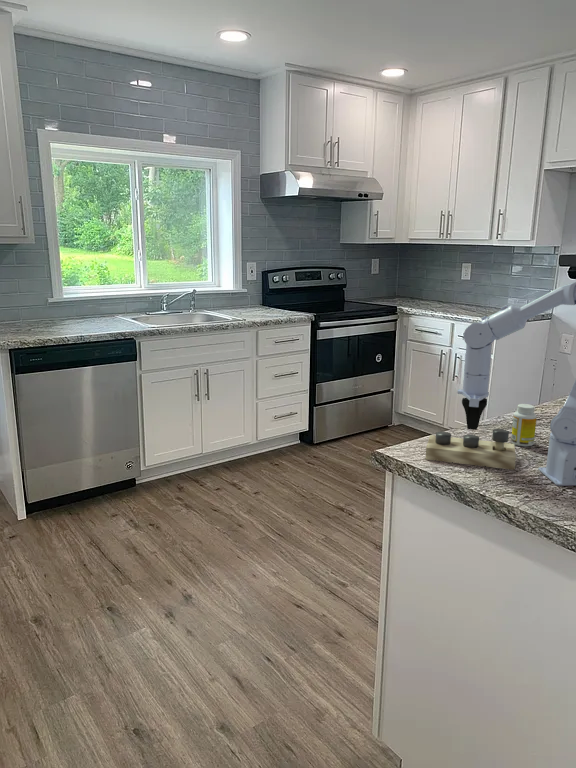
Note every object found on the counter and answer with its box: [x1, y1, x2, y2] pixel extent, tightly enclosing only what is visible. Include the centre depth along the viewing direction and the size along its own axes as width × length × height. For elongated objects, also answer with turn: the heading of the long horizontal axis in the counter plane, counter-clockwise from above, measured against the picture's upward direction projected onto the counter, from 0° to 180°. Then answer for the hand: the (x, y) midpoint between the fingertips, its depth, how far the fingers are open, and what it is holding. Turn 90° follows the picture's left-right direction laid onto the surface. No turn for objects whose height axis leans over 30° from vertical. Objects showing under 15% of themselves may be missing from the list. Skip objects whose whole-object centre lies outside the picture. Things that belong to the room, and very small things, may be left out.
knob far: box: [435, 431, 452, 445], centre depth 141 cm, size 4×4×5 cm
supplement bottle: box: [510, 403, 538, 447], centre depth 148 cm, size 6×6×10 cm
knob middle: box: [463, 434, 480, 448], centre depth 139 cm, size 4×4×5 cm
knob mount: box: [425, 434, 517, 471], centre depth 139 cm, size 20×10×3 cm, turn 71°
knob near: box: [491, 428, 510, 451], centre depth 136 cm, size 4×4×5 cm
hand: (472, 428), depth 138 cm, fingers closed
